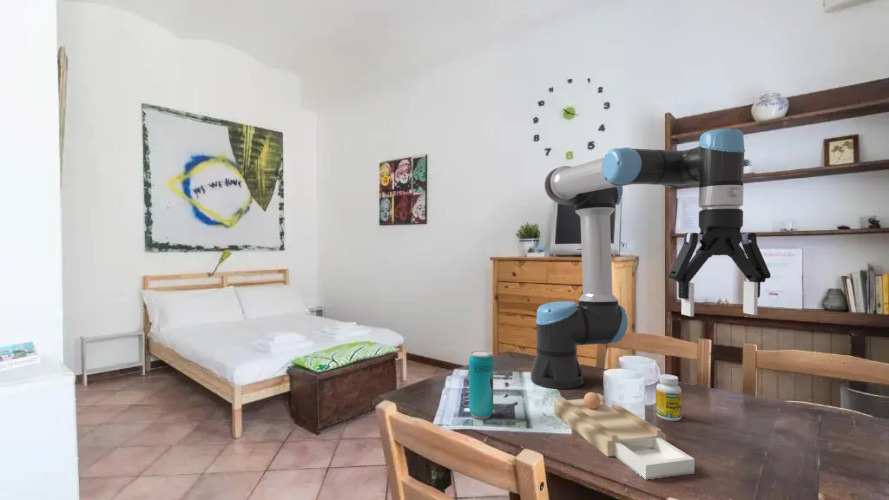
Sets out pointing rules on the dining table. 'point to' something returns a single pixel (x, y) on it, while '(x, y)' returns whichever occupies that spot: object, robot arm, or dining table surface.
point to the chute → (605, 424)
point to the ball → (592, 400)
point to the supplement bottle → (668, 398)
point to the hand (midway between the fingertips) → (719, 314)
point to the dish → (654, 459)
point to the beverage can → (481, 384)
